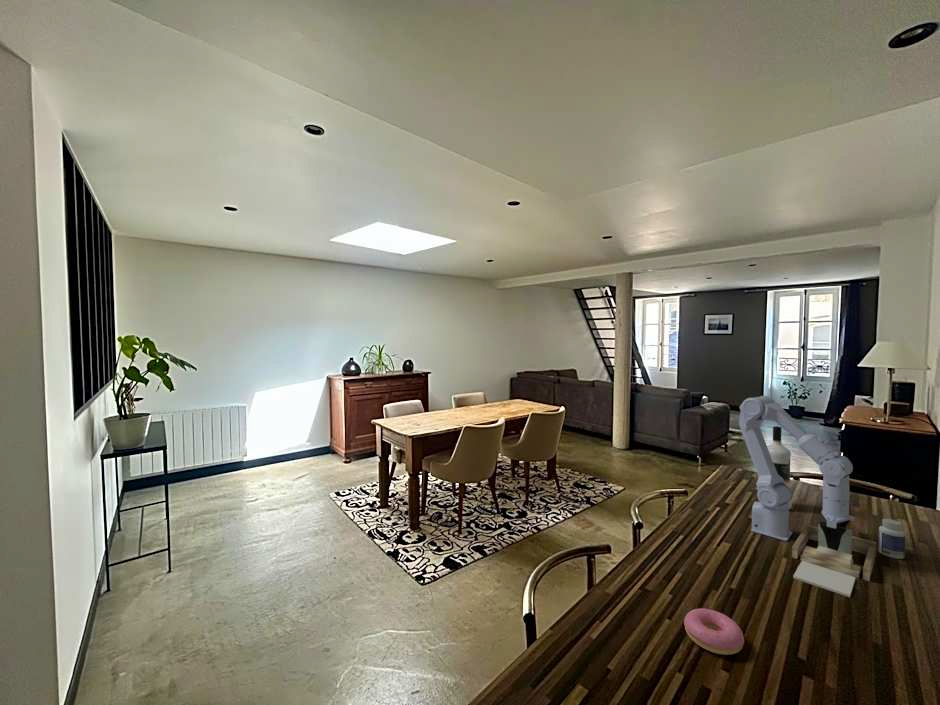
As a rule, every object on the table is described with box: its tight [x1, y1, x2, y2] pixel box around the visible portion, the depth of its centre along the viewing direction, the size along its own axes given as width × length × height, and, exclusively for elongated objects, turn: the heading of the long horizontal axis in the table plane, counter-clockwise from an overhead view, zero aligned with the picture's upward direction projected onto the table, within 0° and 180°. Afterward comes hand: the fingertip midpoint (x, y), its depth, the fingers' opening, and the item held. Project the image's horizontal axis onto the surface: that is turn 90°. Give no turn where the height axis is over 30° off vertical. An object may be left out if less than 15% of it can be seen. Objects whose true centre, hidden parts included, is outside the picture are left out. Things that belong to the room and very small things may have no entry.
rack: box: [791, 523, 877, 582], centre depth 118 cm, size 16×19×4 cm
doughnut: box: [683, 607, 745, 656], centre depth 86 cm, size 11×11×4 cm
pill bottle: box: [878, 518, 906, 560], centre depth 119 cm, size 5×5×10 cm
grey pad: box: [792, 560, 856, 598], centre depth 107 cm, size 11×11×1 cm
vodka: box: [767, 426, 793, 510], centre depth 154 cm, size 9×9×30 cm
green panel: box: [817, 523, 853, 556], centre depth 119 cm, size 7×3×8 cm, turn 42°
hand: (834, 544), depth 119 cm, fingers open, 7 cm apart
